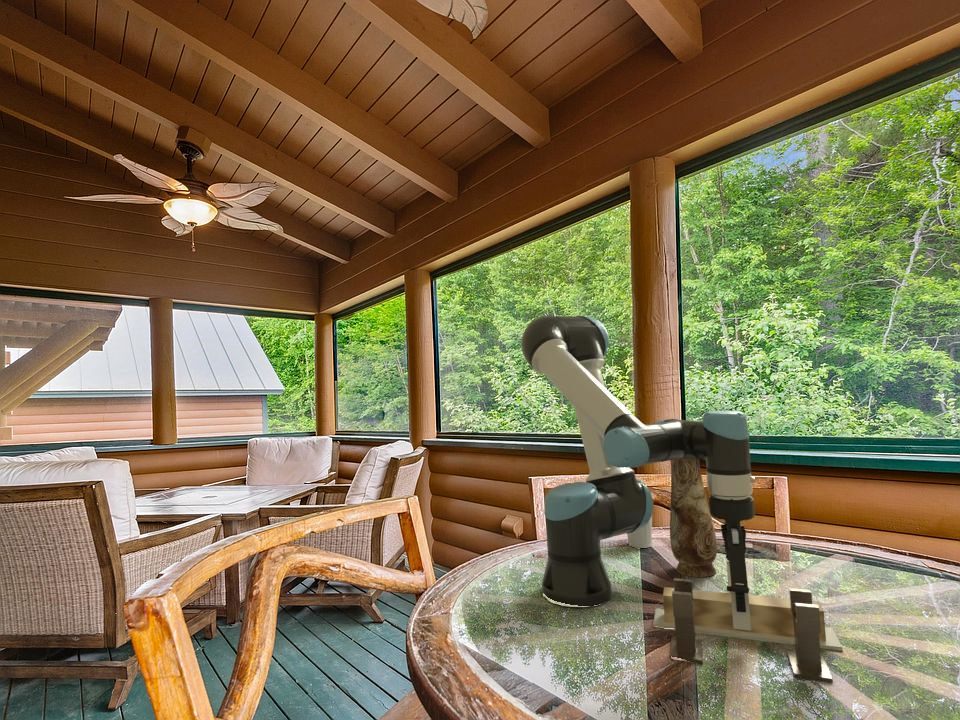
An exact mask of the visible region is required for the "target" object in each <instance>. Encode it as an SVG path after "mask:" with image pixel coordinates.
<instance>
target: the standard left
mask: <svg viewBox="0 0 960 720" xmlns="http://www.w3.org/2000/svg"><path fill="white" fill-rule="evenodd" d="M673 588H674V591H672V600H673V614H674V617H675V630H674V631H675V636H672V635H671V643H670V653H669V657H670V656H672V657H677V658H681V659H685V660H687V661H690V662H689V663H691V662H692V664H693V663H694V664H699V665H703V664H704V661H703V660H704V657H703V655H704V653H703V652H704V651H703V640H702V639H696V638H697V637H696V633H695V623H694V609H693V590H694V589H693V580H692V579H691V578H690V579H687V578H676V577H675V578H674V577H673Z"/></svg>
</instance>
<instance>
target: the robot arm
mask: <svg viewBox="0 0 960 720" xmlns="http://www.w3.org/2000/svg"><path fill="white" fill-rule="evenodd" d="M520 345H521V351H522V354H523V357H524V359H525V360H526V362H527V363H528V365H529V366H530V367H531V368H532V370H533V371H534V372H536V373H537V374H539V375H544V376H545V377H546V378H547V379H548V380H549V381H550V383H552V385H554V387H555V388H556V389H557V390H558V391H559V392H560V393H561V394H562V395H563V396H564V397H565V399H566V400H567V401H568V402H569V403H570V404H571V405H572V407H574V411H575V416H576V419H577V424H578V427H579V431H580V432H579V433H580V436H581V441H582V445H583V447H584V453H585V457H586V460H587V461H586V462H587V465H588V469H589V474H588V475H587V477H586V478H585V481H574V482H572V483H571V482H568V483H567V482H566V483H563V484H558V485H557V486H554V487H552V488H551V489H549V490H548V491H547V492H546V495H545V497H544V511H543V512H544V513H543V515H544V516H545V529H546V534H545V535H546V544H547V545H546V547H547V561H546V565H545V569H544V572H543V577H542V581H541V592H542V591H543V593H544V594H545V595H546V596H547V597H548V598H550V599H552V600H554V601H557V602H561V603H565V604H570V605H578V606H594V605H598V606H600V605H599V604H601V605H603V604H605V603H607V602H608V601H609V600H610V599H611V598H612V593H613V592H612V583H611V580H610V578H609V575H608V572H607V569H606V566H605V564H604V562H603V560H602V551H601V541H603V540H606V539H610V538H614V537H617V536H621V535H624V534H627V533H632V532H634V531H636V530H638V529H641V528H643V527H644V526H646V525H647V524H648V522H649V519H650V518H651V516H652V517H653V512H654V500H653V495H652V493H651V491H650V488H649V487H648V486H647V485H646V484H645V483H644V481H642V480H640V479H638V478H637V477H636V474H635V470H634V469H632V468H639V467H642V466H645V465H652V464H656V463H662V462H669V461H670V460H674V459H680V458H690V459H699V461H705V465H706V466H705V467H706V472H705V473H706V483H707V484H706V485H707V492H708V493H709V494H710V495H709V496H708V506H709V510H710V514H711V517H713V518H715V519H718V520H723V522H724V524H723V523H721V524H720V530H721V537H722V540H723V542H724V545H725V549H724V551H725V552H726V553H725V559H726V560H727V561H725V562H726V573H727V585H726V592H728V593H731V602H732V616H733V628H734V629H741V630H750V631H751V622H750V609H749V595H750V594H749V592H750V588H749V585H748V575H747V563H746V557H745V553H746V547H747V544H746V539H747V533H746V532H747V531H746V529H745V525H744V524H741V522H742V521H750V520H752V519H753V518H754V517H755V515H756V513H755V501H754V497H753V496H751V495H752V494H753V490H754V489H753V484H754V483H756V482H757V481H756V478H755V476H752V468H751V453H750V433H749V427H748V420H747V416H746V414H745V413H744V412H742V411H739V410H712V411H706V412H704V413H703V415H702V420H688V419H687V420H686V419H684V420H683V419H677V418H670V419H669V418H668V419H666V418H665V419H659V420H657V421H656V422H653V423H647V424H646V423H645V424H644V423H643V422H642V421H640V419H638V418H637V417H636V416H635V415H634V414H633V413H632V412H631V411H630V410H629V409H628V408H627V407H626V406H625V405H624V404H623V403H622V402H621V401H620V400H618V399H617V397H616V396H615V395H613V394H612V392H610V391H609V390H608V389H607V388H606V385H605V381H604V377H603V374H602V373H603V372H602V368H603V366H604V364H605V362H606V360H605V356H606V355H607V353H608V351H609V349H608V347H609V346H610V337H609V333H608V331H607V329H606V327H605V326H604V325H603V323H602V322H601V321H600V320H598V319H596V318H594V317H591V316H584V315H576V316H575V315H573V316H571V315H570V316H568V315H567V316H566V315H565V316H564V315H563V316H561V315H560V316H557V315H556V316H555V315H554V316H553V315H545V316H540V317H538V318H536V319H533V320H532V321H531V322H530V323H529V324H528V325H527V326H526V328H525V329H524V331H523V334H522V336H521V344H520ZM752 483H753V484H752ZM594 607H595V606H594Z"/></svg>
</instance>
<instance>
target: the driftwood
mask: <svg viewBox="0 0 960 720" xmlns="http://www.w3.org/2000/svg"><path fill="white" fill-rule="evenodd" d="M717 545H719V546H721V547H725V545H724V544H723V543H718V542H717ZM717 553H723V554H726V552H725V550H722V549H717ZM745 558H748V559H752V560H762V559H763V560H774V561H779V554H778V553H777V552H774V551H770V550H765V549H764V550H763V549H759V548H756V547H747V546H746V553H745Z"/></svg>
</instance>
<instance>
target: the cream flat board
mask: <svg viewBox="0 0 960 720" xmlns="http://www.w3.org/2000/svg"><path fill="white" fill-rule="evenodd" d="M653 617H654V618H653V622H652V623H653V624H652V627H653V626H658V627H663V628H674V629H675V623H668V622H665V617H664V608H655V611H654V616H653ZM825 633H826V641H820V649H825V650H830V651H831V650H832V651H839V652H843V646H842V644H841V642H840V640H839V638H838V636H837V634H836V633H835V631H834V628H833V627H828V626H825ZM695 634H703V635H707V636H708V635H710V636H716V637H718V636H719V637H727V638H734V639H742V640H750V641H751V640H752V641H759V642H766V643H775V644H781V645H783V644H784V645H791V646H795V637H786V636H778V635H770V634H761V633H753V632H744V631H736V630H727V629H719V628H710V627H702V626H695Z"/></svg>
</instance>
